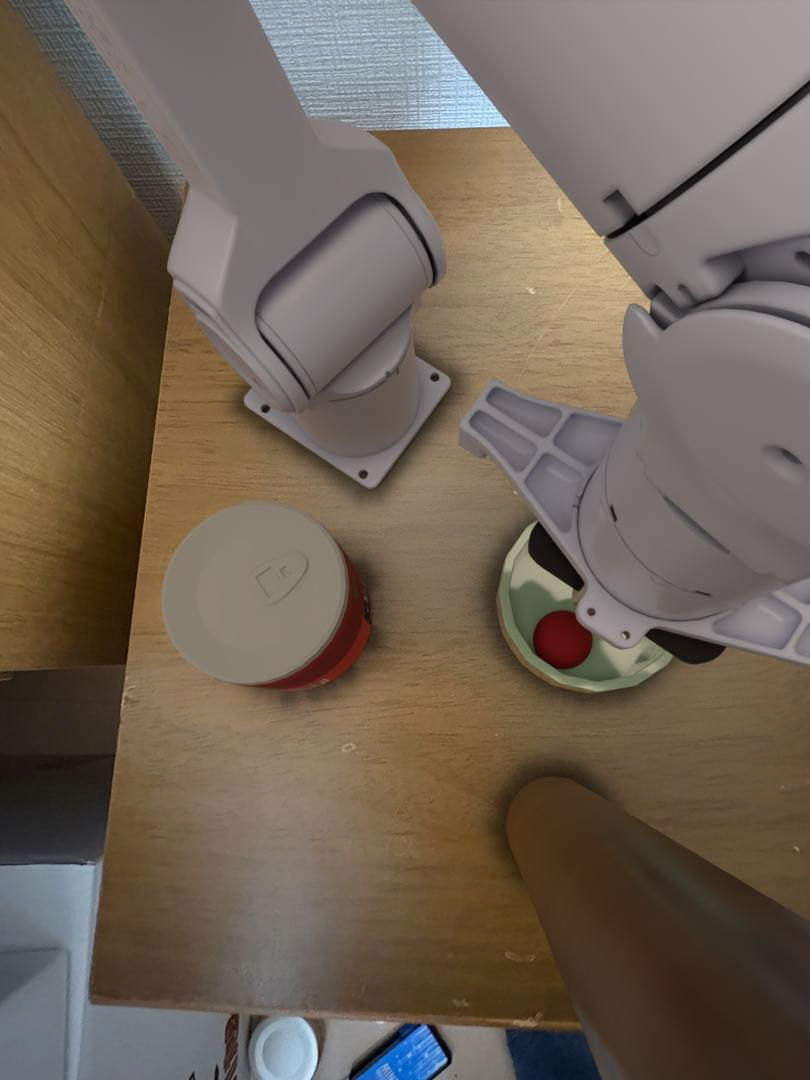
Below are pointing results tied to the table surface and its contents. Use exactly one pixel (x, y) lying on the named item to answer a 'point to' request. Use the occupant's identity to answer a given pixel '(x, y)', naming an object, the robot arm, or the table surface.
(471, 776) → the table surface
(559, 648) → the bead
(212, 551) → the canned food
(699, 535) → the robot arm
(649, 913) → the pepper mill
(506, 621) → the bowl
